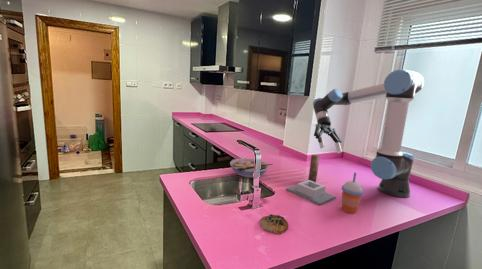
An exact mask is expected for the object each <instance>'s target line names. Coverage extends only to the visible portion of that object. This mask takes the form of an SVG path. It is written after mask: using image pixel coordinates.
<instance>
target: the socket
mask: <svg viewBox="0 0 482 269" xmlns="http://www.w3.org/2000/svg"><path fill="white" fill-rule="evenodd" d="M326 187H327V186H325V185H324V184H321V183H318V182H317V181H316V182H313V181H311V180H308V179H306V180H305V181H301V182H299V183H297V184H295V185H293V186H290V187H286V189H285V191H286V192H289V193H291V194H293V195H295V196H298V197H300V198H302V199H304V200H306V201H308V202H311V203H313V204H314V205H316V206H319V207H320V206H323V205H325V204H327V203H329V202H331V201H333V200H335V199H336V195H333V194H331V193H329V192H326Z"/></svg>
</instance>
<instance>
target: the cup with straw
mask: <svg viewBox="0 0 482 269" xmlns="http://www.w3.org/2000/svg"><path fill="white" fill-rule="evenodd" d="M356 178H357V172H353V178H352V180H348V181H347V182H345V183H344V184H343V185H342V186H341V190H342V193H341V210H342V211H344V212H345V213H348V214H356V213H357V210H358V208H359V206H360V203H361V200H362V199H361V198H362V195H364V193H365V191H364V189H363V187H362V185H361V184H360V183H359V182H357V181H356Z"/></svg>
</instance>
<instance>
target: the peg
mask: <svg viewBox="0 0 482 269" xmlns="http://www.w3.org/2000/svg"><path fill="white" fill-rule="evenodd" d="M319 162H320V156H319V155H318V154H312V155H311V156H310V164H309V170H308V179H307V180H311V181H313V182H316V183H317V178H318V170H319V164H320V163H319Z"/></svg>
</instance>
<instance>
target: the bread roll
mask: <svg viewBox="0 0 482 269" xmlns="http://www.w3.org/2000/svg"><path fill="white" fill-rule="evenodd" d="M258 222H259V227H260V229H261V228H262V230H264V231H266V232H267V233H272V234H277V235H281V234H284V233H285V232H287V230H289V222H288V220H287V219H285V216H283V215H280V214H273V213H272V214H271V213H270V214H269V215H267V216H266V215H265V216H262V217H261V218H260V219H259V221H258Z"/></svg>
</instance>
